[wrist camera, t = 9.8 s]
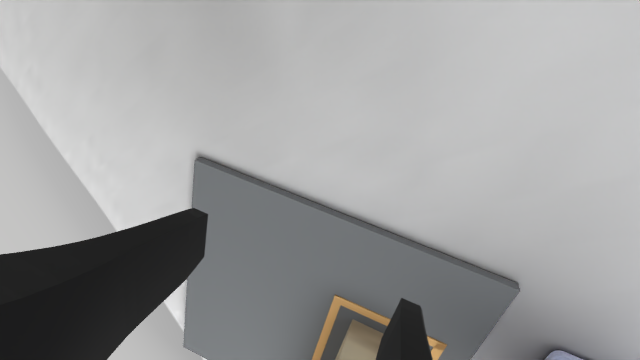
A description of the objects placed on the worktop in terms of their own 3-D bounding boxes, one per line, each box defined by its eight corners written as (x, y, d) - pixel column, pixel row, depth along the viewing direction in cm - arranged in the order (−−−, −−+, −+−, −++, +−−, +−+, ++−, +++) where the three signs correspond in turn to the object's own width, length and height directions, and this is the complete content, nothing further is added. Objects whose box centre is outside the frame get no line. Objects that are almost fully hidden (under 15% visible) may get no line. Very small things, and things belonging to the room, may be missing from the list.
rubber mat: (518, 283, 19) (520, 291, 19) (398, 452, 29) (397, 461, 28) (200, 157, 23) (193, 160, 23) (187, 341, 33) (182, 347, 32)
